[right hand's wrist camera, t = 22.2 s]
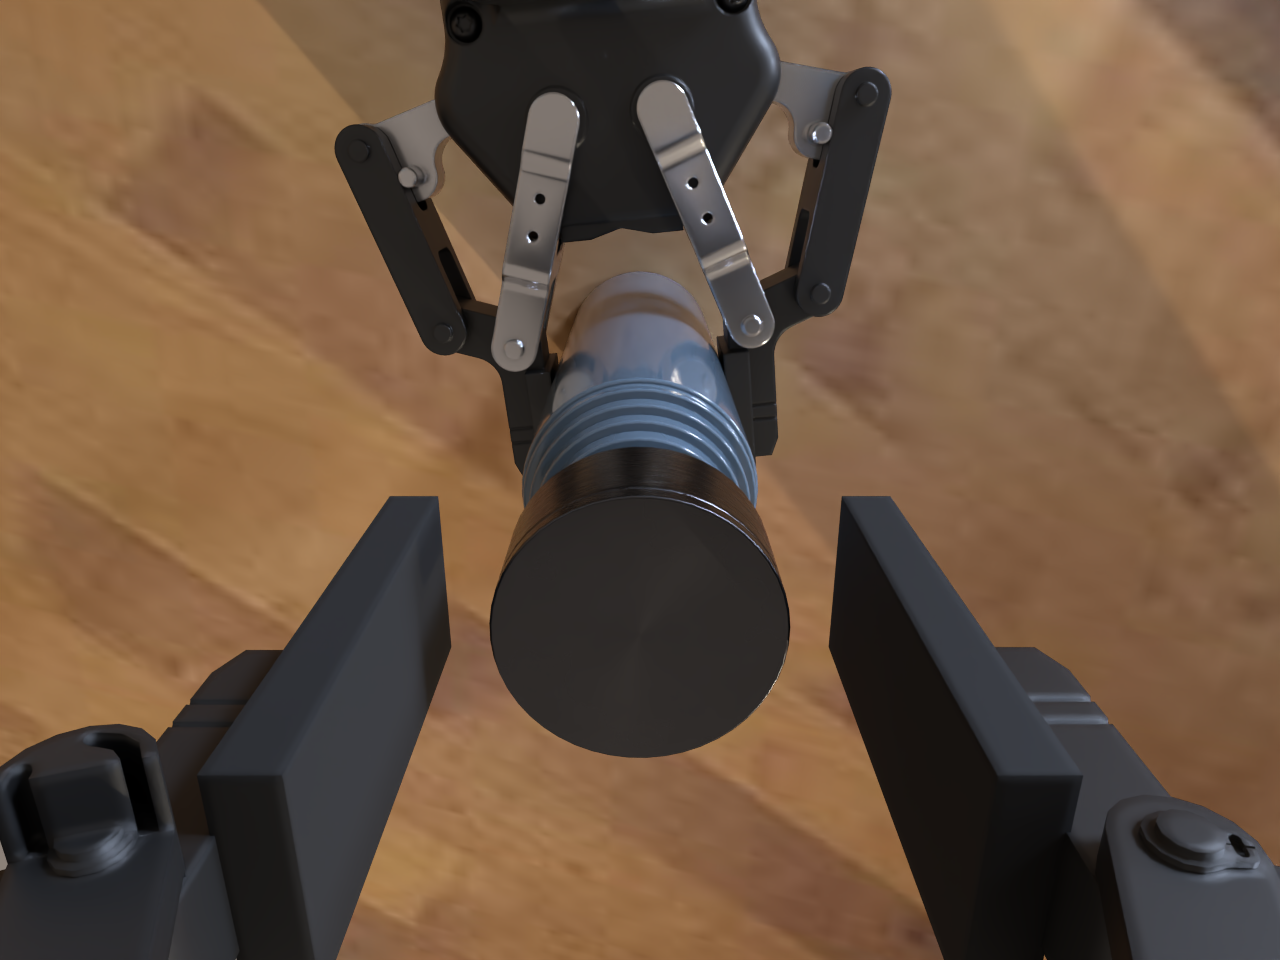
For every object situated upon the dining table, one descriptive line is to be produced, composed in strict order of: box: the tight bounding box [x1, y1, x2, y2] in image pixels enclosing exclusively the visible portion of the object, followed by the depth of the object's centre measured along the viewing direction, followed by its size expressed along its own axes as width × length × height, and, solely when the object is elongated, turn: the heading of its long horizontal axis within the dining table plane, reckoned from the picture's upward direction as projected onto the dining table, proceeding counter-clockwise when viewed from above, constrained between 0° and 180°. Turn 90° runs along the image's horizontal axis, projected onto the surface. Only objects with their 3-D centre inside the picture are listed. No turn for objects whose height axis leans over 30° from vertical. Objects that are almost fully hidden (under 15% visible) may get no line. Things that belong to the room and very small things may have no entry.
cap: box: [490, 447, 790, 758], centre depth 14 cm, size 4×4×2 cm
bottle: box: [522, 272, 758, 509], centre depth 22 cm, size 5×5×19 cm
